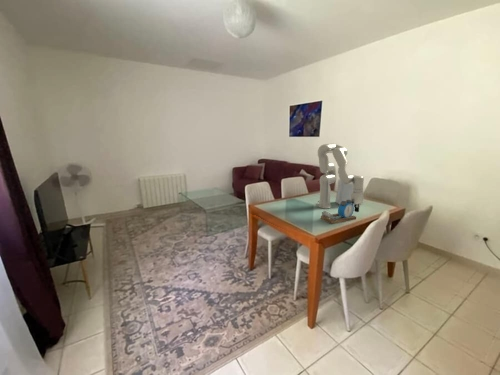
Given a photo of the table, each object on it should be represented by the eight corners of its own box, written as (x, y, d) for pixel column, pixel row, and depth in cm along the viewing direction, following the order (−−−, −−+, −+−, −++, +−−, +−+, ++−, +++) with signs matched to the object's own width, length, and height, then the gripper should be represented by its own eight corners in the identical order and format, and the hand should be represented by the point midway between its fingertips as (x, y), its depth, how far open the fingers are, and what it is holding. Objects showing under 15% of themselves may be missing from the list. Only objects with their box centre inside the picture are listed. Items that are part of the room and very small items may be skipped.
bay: (323, 218, 188) (323, 215, 187) (344, 214, 195) (344, 212, 195) (334, 223, 176) (334, 221, 175) (355, 219, 183) (356, 216, 183)
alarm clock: (343, 220, 182) (344, 202, 178) (336, 217, 187) (338, 200, 184) (353, 217, 188) (354, 200, 185) (347, 214, 193) (348, 198, 190)
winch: (319, 218, 186) (320, 209, 184) (324, 217, 188) (325, 209, 186) (333, 225, 172) (333, 215, 170) (338, 224, 174) (338, 214, 172)
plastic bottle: (355, 205, 217) (357, 177, 211) (339, 206, 218) (341, 177, 211) (348, 201, 232) (350, 174, 226) (334, 201, 232) (335, 175, 226)
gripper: (360, 188, 193) (359, 209, 196) (347, 190, 187) (346, 211, 191) (368, 190, 186) (366, 211, 190) (354, 192, 180) (353, 214, 184)
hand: (356, 211), depth 190 cm, fingers closed
